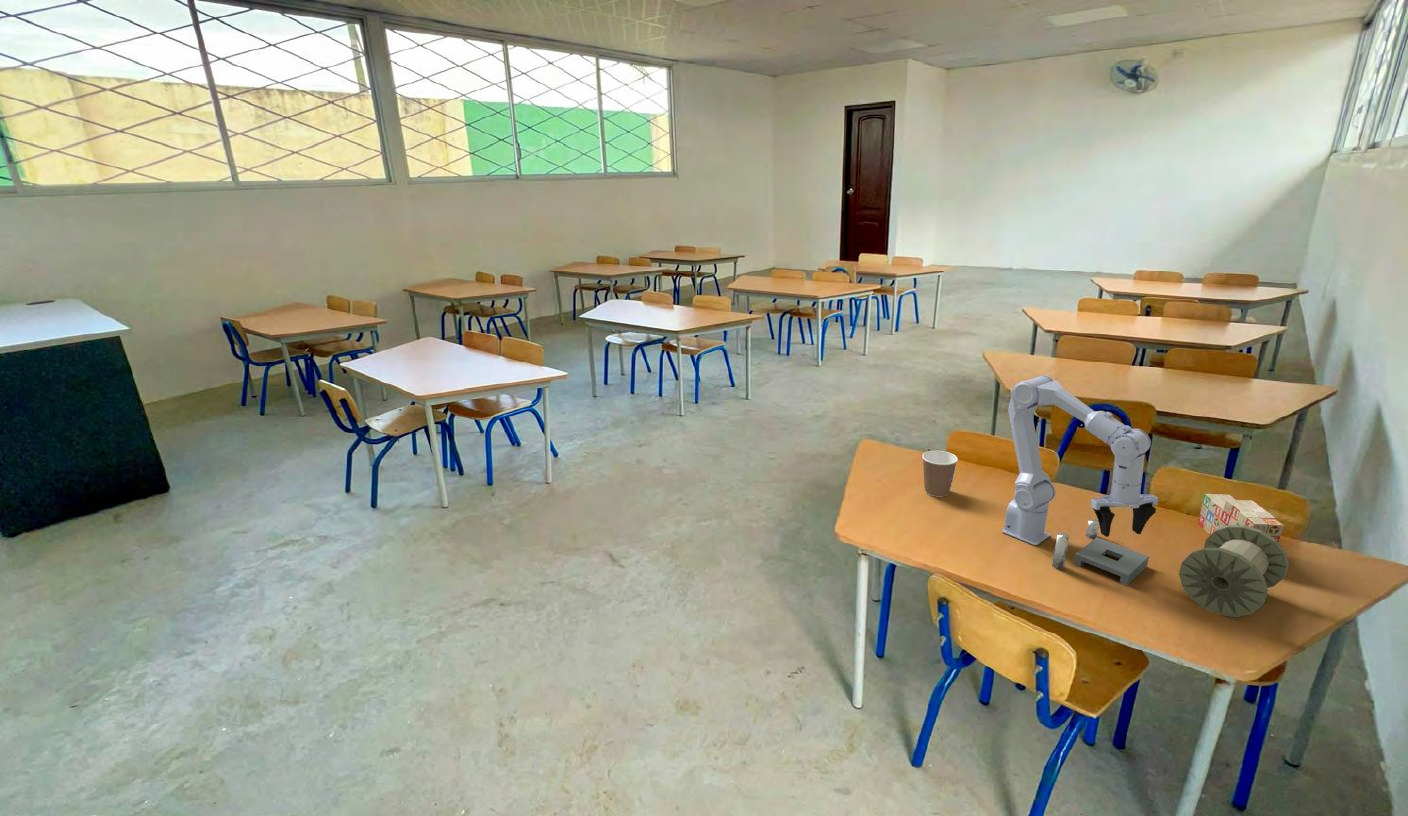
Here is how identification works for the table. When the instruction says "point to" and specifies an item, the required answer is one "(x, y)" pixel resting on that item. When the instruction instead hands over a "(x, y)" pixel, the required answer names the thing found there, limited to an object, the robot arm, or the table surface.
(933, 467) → the coffee cup
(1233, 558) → the spool
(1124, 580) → the board
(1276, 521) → the stack of blocks
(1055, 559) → the long pin
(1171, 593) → the table surface
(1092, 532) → the short pin
